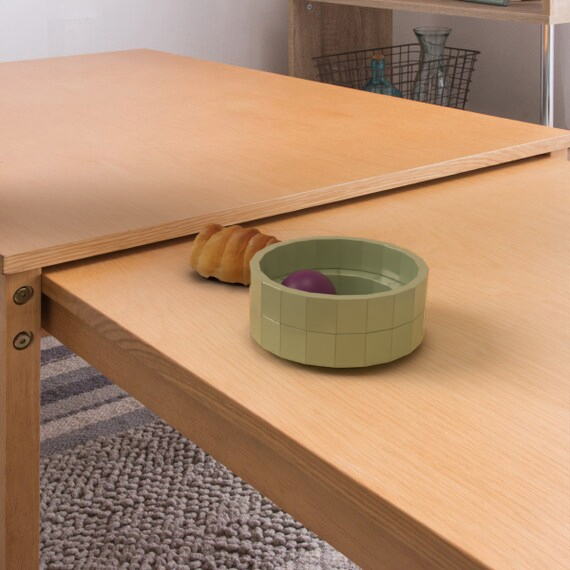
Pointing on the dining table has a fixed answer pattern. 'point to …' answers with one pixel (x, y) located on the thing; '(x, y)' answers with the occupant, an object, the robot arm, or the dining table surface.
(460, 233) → the dining table surface
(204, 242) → the pastry
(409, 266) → the basin
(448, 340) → the dining table surface
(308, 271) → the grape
